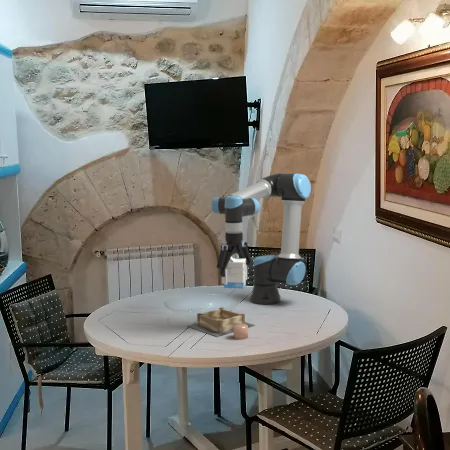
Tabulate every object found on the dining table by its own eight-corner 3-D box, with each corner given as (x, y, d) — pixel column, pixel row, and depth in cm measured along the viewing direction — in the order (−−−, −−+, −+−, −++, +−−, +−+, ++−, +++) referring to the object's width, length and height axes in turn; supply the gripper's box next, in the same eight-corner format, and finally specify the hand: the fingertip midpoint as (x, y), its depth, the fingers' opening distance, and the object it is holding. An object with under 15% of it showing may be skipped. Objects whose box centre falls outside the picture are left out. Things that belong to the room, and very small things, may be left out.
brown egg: (241, 334, 256) (240, 322, 255) (250, 337, 252) (250, 325, 251) (230, 337, 252) (230, 325, 251) (240, 340, 248) (240, 328, 247)
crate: (224, 316, 282) (224, 304, 281) (254, 325, 267) (254, 313, 266) (187, 326, 267) (187, 314, 267) (217, 337, 253) (216, 324, 252)
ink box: (243, 289, 259) (243, 258, 256) (223, 287, 260) (224, 257, 258) (245, 283, 267) (246, 254, 265) (227, 282, 268) (227, 253, 266)
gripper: (247, 228, 271) (247, 275, 274) (207, 234, 255) (208, 284, 258) (259, 229, 266) (259, 278, 269) (219, 236, 249) (220, 287, 252)
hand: (234, 281), depth 263 cm, fingers closed on ink box, 11 cm apart
